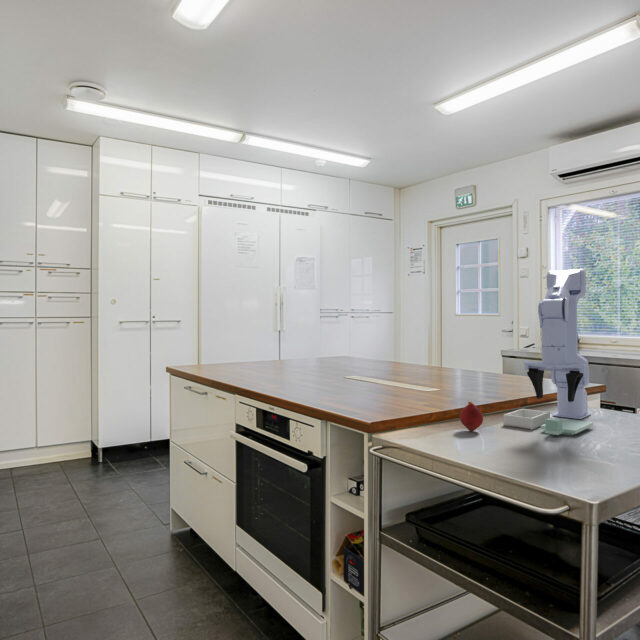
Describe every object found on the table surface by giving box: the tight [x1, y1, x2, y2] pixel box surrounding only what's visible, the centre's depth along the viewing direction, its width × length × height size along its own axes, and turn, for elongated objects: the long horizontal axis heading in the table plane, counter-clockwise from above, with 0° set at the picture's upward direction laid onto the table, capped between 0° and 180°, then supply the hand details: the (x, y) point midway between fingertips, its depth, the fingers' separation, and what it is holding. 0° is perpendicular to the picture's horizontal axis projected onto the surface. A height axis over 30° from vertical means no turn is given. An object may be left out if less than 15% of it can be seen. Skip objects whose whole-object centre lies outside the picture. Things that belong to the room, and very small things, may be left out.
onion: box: [459, 400, 484, 432], centre depth 130 cm, size 6×6×8 cm
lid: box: [540, 417, 594, 436], centre depth 128 cm, size 17×9×4 cm, turn 133°
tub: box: [502, 408, 551, 431], centre depth 138 cm, size 12×8×3 cm, turn 134°
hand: (555, 399), depth 124 cm, fingers open, 7 cm apart
